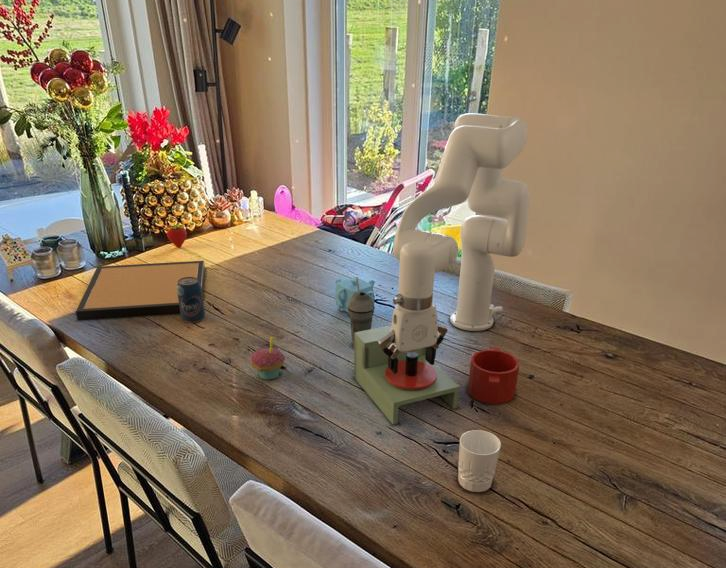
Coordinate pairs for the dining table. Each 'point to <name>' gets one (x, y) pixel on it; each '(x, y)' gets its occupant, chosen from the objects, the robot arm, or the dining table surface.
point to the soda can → (190, 299)
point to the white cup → (477, 460)
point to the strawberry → (177, 235)
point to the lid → (412, 373)
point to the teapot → (351, 291)
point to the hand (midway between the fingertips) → (411, 366)
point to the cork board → (136, 289)
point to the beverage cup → (360, 311)
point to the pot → (493, 376)
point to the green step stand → (386, 395)
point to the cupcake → (267, 361)
